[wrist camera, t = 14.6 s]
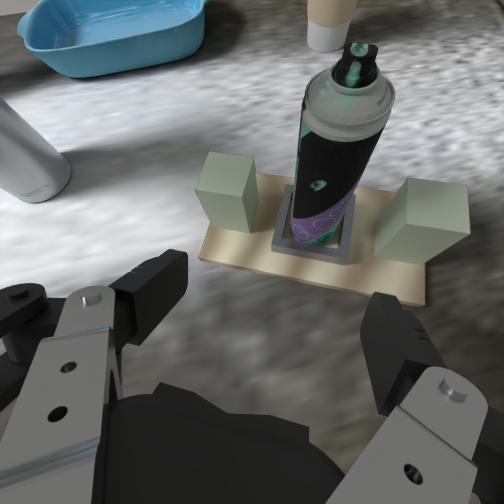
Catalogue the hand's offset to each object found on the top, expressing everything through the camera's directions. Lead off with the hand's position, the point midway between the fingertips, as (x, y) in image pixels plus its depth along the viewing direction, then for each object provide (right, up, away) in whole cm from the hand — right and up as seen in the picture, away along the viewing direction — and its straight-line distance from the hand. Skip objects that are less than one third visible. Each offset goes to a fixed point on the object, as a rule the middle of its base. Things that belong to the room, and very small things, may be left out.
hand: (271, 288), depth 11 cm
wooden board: (+7, +4, +22) cm, 23 cm away
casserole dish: (-26, +44, +42) cm, 66 cm away
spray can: (+7, +5, +21) cm, 22 cm away
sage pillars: (+7, +5, +21) cm, 22 cm away
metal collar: (+7, +5, +21) cm, 22 cm away
